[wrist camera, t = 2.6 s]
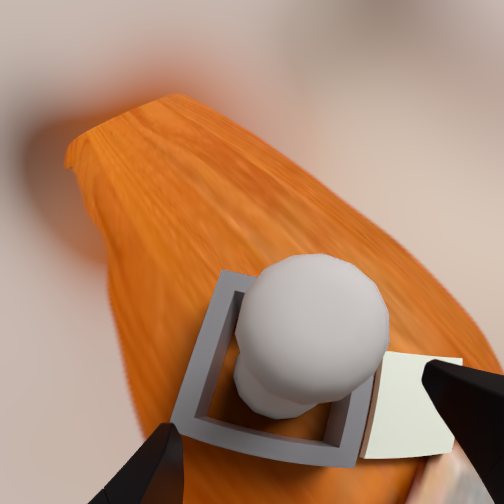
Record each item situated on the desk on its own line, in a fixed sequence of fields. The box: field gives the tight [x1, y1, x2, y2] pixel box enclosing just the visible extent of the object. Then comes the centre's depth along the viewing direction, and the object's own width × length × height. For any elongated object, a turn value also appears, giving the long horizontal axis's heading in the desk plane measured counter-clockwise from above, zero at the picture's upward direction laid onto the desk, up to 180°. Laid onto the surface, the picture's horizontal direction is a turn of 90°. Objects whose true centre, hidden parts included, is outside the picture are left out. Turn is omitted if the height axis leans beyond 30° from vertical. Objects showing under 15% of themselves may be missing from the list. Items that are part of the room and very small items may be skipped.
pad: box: [359, 351, 462, 459], centre depth 14 cm, size 8×8×1 cm
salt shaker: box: [233, 254, 389, 419], centre depth 12 cm, size 6×6×13 cm
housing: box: [170, 270, 374, 468], centre depth 15 cm, size 10×10×4 cm
